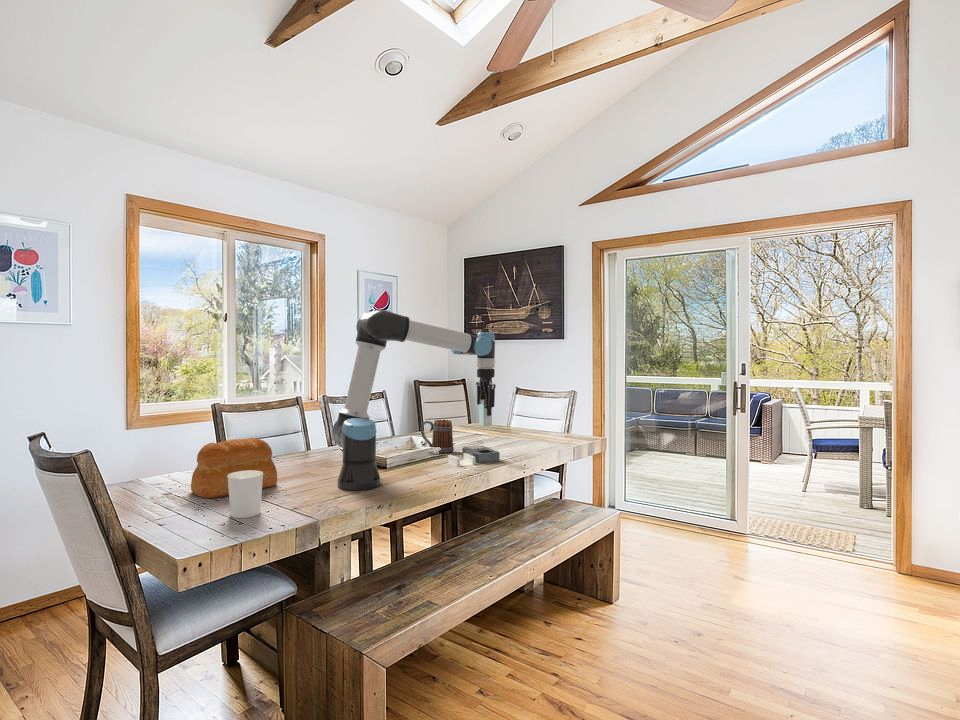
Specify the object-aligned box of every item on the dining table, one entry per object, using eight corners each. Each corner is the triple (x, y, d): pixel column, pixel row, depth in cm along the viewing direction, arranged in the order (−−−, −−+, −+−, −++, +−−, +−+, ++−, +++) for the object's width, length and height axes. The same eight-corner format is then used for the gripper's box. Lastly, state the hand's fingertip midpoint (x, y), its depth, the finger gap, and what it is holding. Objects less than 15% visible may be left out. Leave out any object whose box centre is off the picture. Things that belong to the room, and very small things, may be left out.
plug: (483, 426, 231) (483, 400, 231) (479, 424, 235) (479, 399, 234) (491, 425, 233) (491, 400, 233) (487, 424, 237) (487, 399, 236)
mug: (455, 450, 260) (455, 419, 260) (451, 455, 250) (452, 422, 249) (423, 449, 262) (423, 418, 261) (418, 454, 251) (418, 421, 251)
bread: (186, 492, 185) (186, 441, 184) (260, 478, 205) (260, 432, 204) (206, 501, 175) (205, 448, 174) (282, 485, 194) (281, 438, 194)
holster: (456, 468, 223) (456, 459, 223) (447, 464, 231) (447, 454, 231) (475, 466, 227) (476, 457, 227) (466, 462, 235) (466, 453, 235)
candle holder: (268, 508, 168) (268, 470, 167) (255, 519, 158) (255, 478, 157) (235, 508, 167) (235, 470, 167) (221, 519, 157) (221, 478, 157)
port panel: (478, 466, 229) (478, 453, 228) (462, 458, 243) (462, 446, 243) (499, 463, 233) (499, 451, 233) (482, 456, 247) (482, 444, 247)
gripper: (503, 369, 227) (502, 424, 228) (484, 367, 242) (483, 419, 243) (487, 369, 224) (486, 425, 225) (469, 367, 239) (468, 420, 240)
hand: (485, 422), depth 234 cm, fingers closed on plug, 4 cm apart
